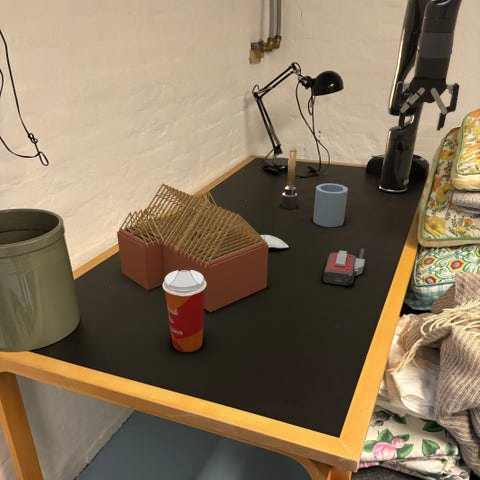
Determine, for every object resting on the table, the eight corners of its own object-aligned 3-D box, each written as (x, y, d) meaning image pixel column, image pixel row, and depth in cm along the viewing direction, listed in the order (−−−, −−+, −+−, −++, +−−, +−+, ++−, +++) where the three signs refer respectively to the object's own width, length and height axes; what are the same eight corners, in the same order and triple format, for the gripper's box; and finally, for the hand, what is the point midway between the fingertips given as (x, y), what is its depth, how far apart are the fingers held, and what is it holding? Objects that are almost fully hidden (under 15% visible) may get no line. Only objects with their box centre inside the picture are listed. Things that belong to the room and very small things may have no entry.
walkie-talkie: (359, 290, 113) (366, 254, 129) (362, 273, 111) (368, 238, 127) (321, 285, 115) (332, 250, 131) (322, 267, 113) (334, 234, 129)
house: (121, 272, 119) (110, 193, 109) (198, 246, 133) (195, 173, 122) (193, 319, 102) (189, 231, 92) (273, 284, 115) (277, 203, 105)
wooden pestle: (283, 203, 162) (286, 145, 152) (297, 204, 161) (301, 146, 151) (281, 208, 158) (284, 149, 148) (295, 209, 157) (299, 150, 147)
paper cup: (168, 333, 98) (163, 268, 90) (207, 331, 98) (205, 267, 91) (166, 356, 91) (160, 289, 84) (208, 355, 92) (206, 288, 84)
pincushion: (289, 244, 134) (290, 224, 131) (287, 254, 129) (288, 233, 126) (245, 241, 136) (245, 221, 133) (241, 250, 131) (241, 230, 128)
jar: (314, 214, 153) (317, 182, 148) (344, 217, 152) (348, 184, 147) (311, 225, 146) (314, 191, 141) (343, 228, 144) (347, 194, 139)
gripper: (464, 53, 115) (448, 127, 124) (400, 52, 118) (389, 124, 127) (468, 57, 109) (452, 134, 118) (401, 55, 112) (389, 131, 121)
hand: (419, 129), depth 123 cm, fingers open, 8 cm apart
